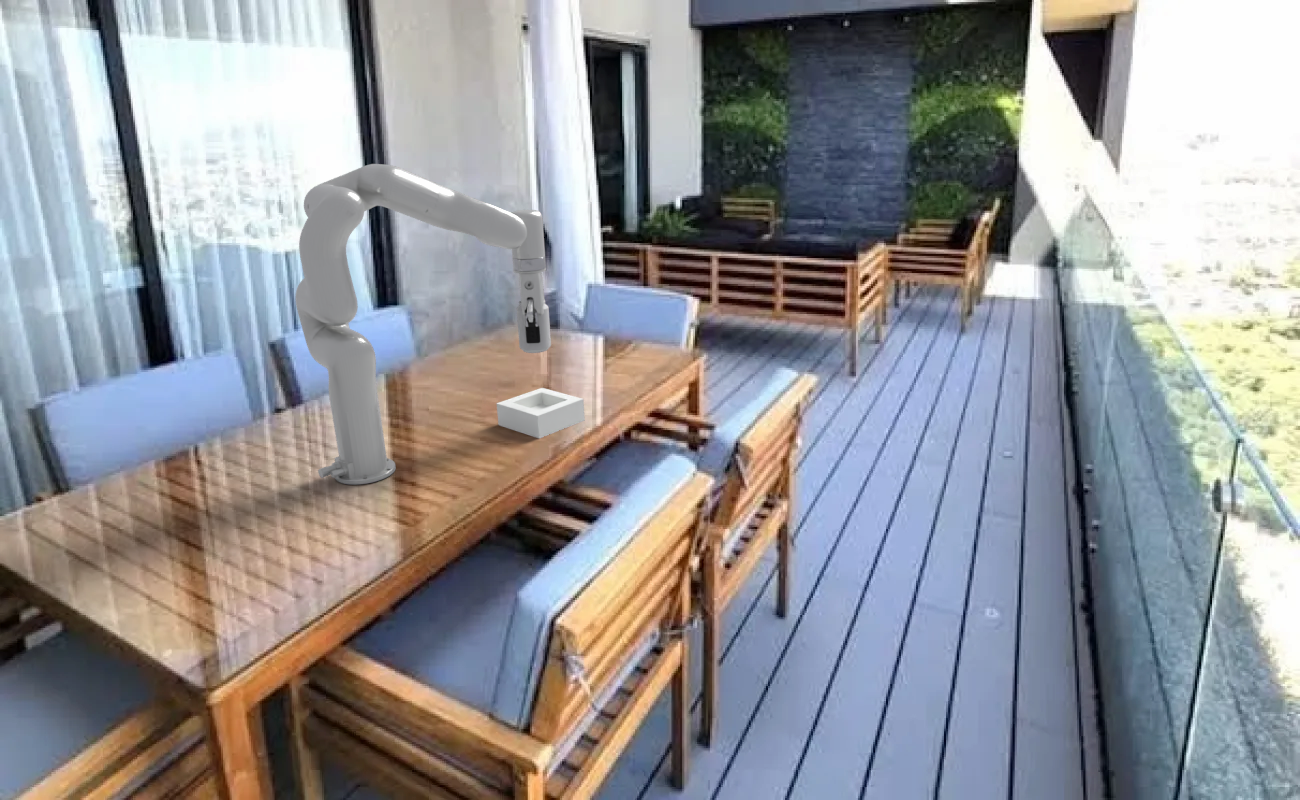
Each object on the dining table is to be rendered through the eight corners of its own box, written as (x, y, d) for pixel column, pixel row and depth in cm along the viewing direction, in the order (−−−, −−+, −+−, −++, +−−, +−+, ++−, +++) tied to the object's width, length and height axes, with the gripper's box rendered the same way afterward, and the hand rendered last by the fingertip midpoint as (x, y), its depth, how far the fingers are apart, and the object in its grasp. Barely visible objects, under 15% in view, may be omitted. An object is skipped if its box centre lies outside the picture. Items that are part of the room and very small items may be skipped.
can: (545, 354, 197) (542, 304, 193) (515, 353, 198) (511, 303, 194) (555, 346, 204) (552, 297, 200) (525, 345, 205) (522, 296, 201)
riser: (539, 439, 197) (537, 415, 196) (498, 426, 207) (496, 403, 205) (584, 421, 208) (583, 398, 206) (543, 409, 217) (542, 387, 216)
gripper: (543, 270, 186) (548, 347, 192) (547, 258, 203) (552, 329, 209) (509, 272, 186) (515, 348, 192) (516, 259, 203) (521, 330, 208)
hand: (534, 338), depth 200 cm, fingers closed on can, 7 cm apart
